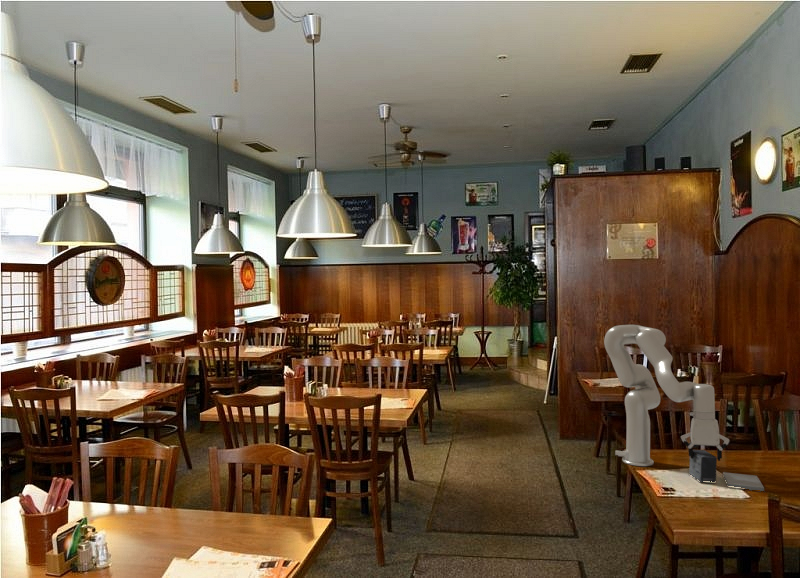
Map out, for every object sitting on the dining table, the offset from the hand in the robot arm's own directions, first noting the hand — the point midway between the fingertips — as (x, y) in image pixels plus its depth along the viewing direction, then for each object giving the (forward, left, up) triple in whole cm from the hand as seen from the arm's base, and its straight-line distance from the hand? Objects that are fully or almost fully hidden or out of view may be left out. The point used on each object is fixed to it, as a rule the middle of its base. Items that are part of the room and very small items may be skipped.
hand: (705, 459), depth 242 cm
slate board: (+13, 0, -8) cm, 16 cm away
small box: (-1, 0, -9) cm, 9 cm away
